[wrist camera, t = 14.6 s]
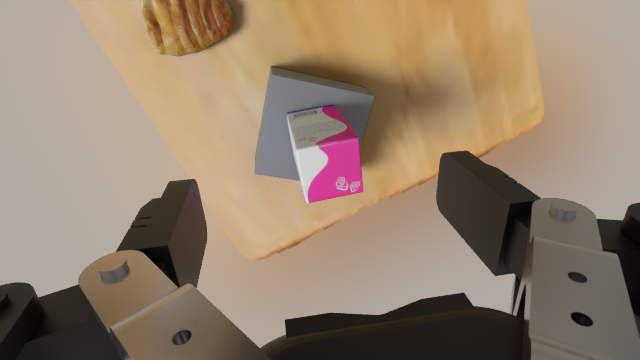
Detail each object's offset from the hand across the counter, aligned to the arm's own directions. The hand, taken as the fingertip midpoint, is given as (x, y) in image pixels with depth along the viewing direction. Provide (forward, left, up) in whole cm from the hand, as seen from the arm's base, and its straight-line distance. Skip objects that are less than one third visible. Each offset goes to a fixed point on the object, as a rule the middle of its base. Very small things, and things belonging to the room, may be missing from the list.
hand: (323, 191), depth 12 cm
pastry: (-4, -10, -37) cm, 38 cm away
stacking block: (+9, +3, -36) cm, 38 cm away
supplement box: (+8, +3, -31) cm, 32 cm away
